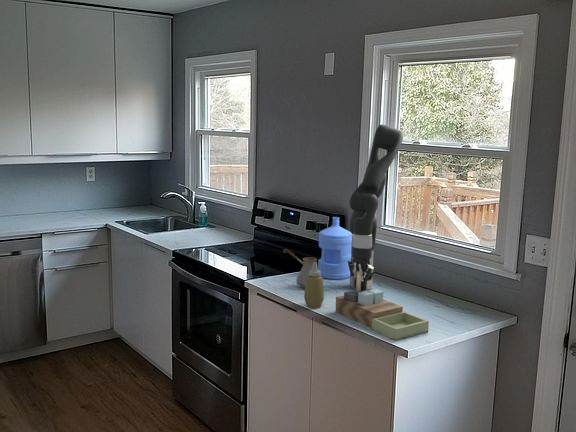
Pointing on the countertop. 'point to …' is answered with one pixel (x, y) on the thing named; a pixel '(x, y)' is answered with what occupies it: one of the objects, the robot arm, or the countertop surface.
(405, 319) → the bin
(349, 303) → the flat wooden board
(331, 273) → the water jug
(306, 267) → the coffee pot
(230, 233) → the countertop surface
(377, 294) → the light blue block
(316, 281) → the squeeze bottle
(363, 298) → the pale blue cube
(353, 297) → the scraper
